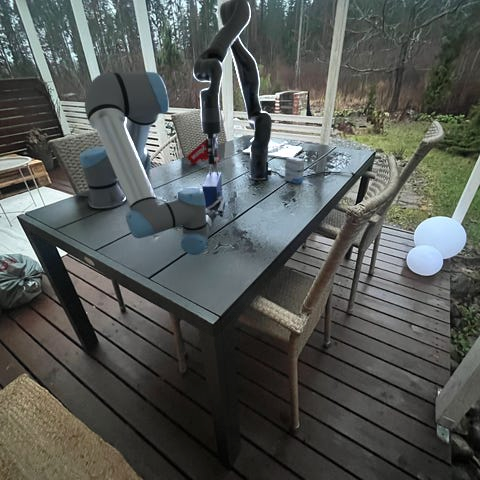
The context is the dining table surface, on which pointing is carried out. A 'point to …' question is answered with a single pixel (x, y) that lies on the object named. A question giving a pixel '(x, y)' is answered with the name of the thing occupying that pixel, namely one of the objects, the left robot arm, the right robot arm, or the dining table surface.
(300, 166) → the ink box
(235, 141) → the dining table surface
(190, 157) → the toy gun
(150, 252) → the dining table surface
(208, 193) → the chest
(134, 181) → the left robot arm
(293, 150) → the relief map
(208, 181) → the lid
